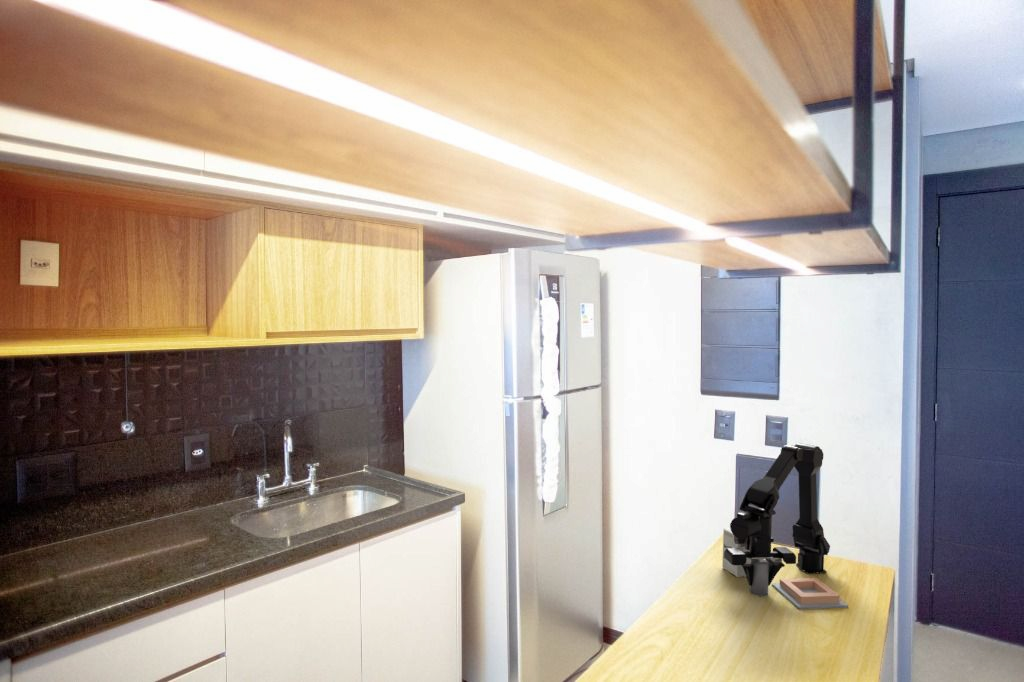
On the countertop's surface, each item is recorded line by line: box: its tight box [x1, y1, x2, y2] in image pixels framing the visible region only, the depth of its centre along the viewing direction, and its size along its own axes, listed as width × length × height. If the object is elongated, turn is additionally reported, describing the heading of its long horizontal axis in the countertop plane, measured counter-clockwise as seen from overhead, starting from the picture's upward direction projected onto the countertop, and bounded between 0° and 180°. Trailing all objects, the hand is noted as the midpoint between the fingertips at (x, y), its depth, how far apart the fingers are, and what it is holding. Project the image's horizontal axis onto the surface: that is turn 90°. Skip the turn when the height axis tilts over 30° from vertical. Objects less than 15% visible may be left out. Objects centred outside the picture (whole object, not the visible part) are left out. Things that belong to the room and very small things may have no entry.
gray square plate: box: [771, 577, 849, 610], centre depth 168 cm, size 14×14×3 cm
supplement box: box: [722, 527, 749, 578], centre depth 184 cm, size 7×7×13 cm
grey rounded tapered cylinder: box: [749, 559, 769, 597], centre depth 170 cm, size 5×5×9 cm
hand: (759, 585), depth 170 cm, fingers closed on grey rounded tapered cylinder, 5 cm apart
